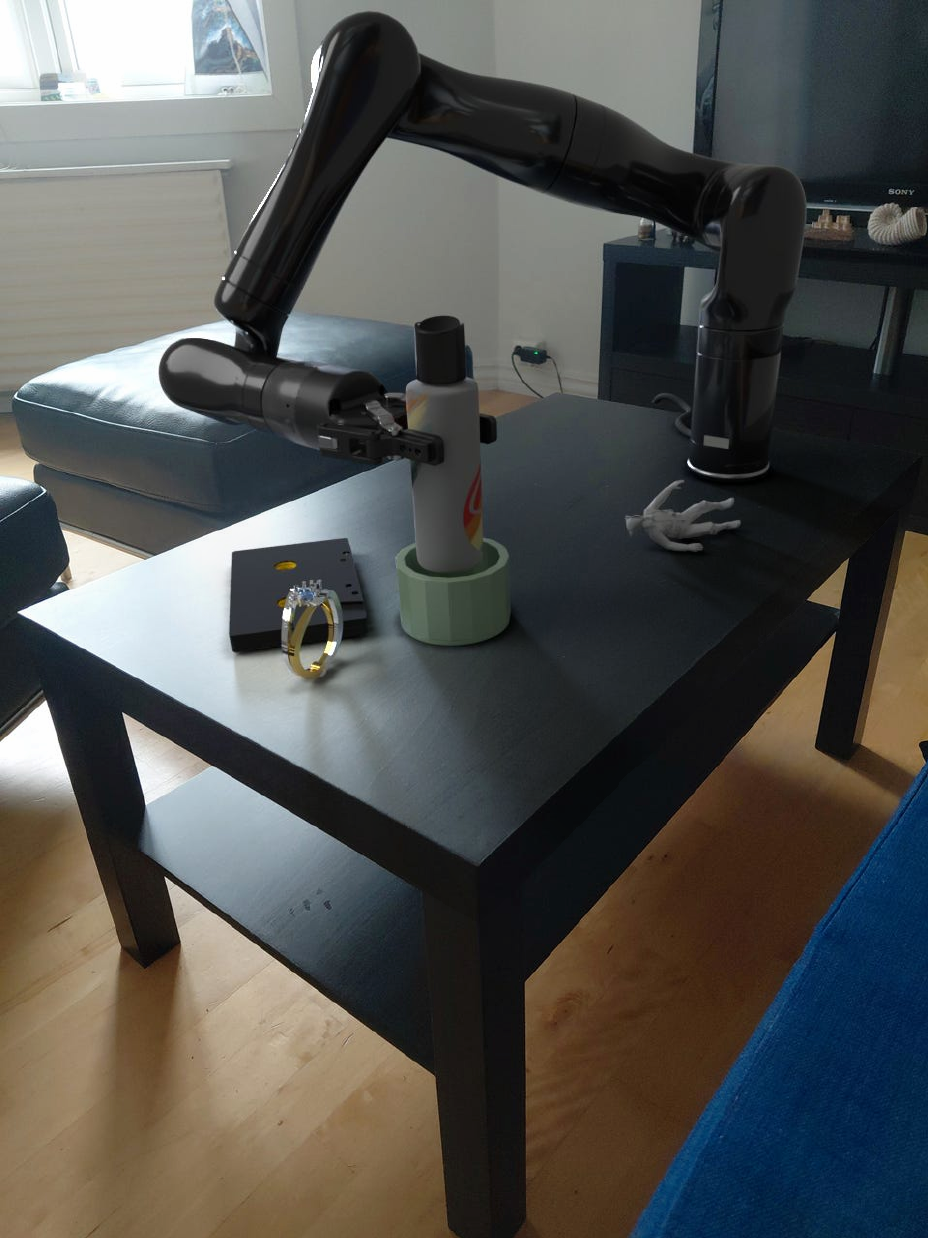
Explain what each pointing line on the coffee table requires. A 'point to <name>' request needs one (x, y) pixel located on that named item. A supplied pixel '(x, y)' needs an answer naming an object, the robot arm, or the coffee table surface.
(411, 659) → the coffee table surface
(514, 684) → the coffee table surface
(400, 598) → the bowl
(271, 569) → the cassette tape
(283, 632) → the ring
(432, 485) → the lotion bottle
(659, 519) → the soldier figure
